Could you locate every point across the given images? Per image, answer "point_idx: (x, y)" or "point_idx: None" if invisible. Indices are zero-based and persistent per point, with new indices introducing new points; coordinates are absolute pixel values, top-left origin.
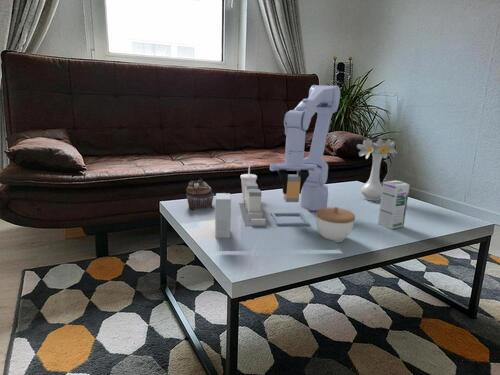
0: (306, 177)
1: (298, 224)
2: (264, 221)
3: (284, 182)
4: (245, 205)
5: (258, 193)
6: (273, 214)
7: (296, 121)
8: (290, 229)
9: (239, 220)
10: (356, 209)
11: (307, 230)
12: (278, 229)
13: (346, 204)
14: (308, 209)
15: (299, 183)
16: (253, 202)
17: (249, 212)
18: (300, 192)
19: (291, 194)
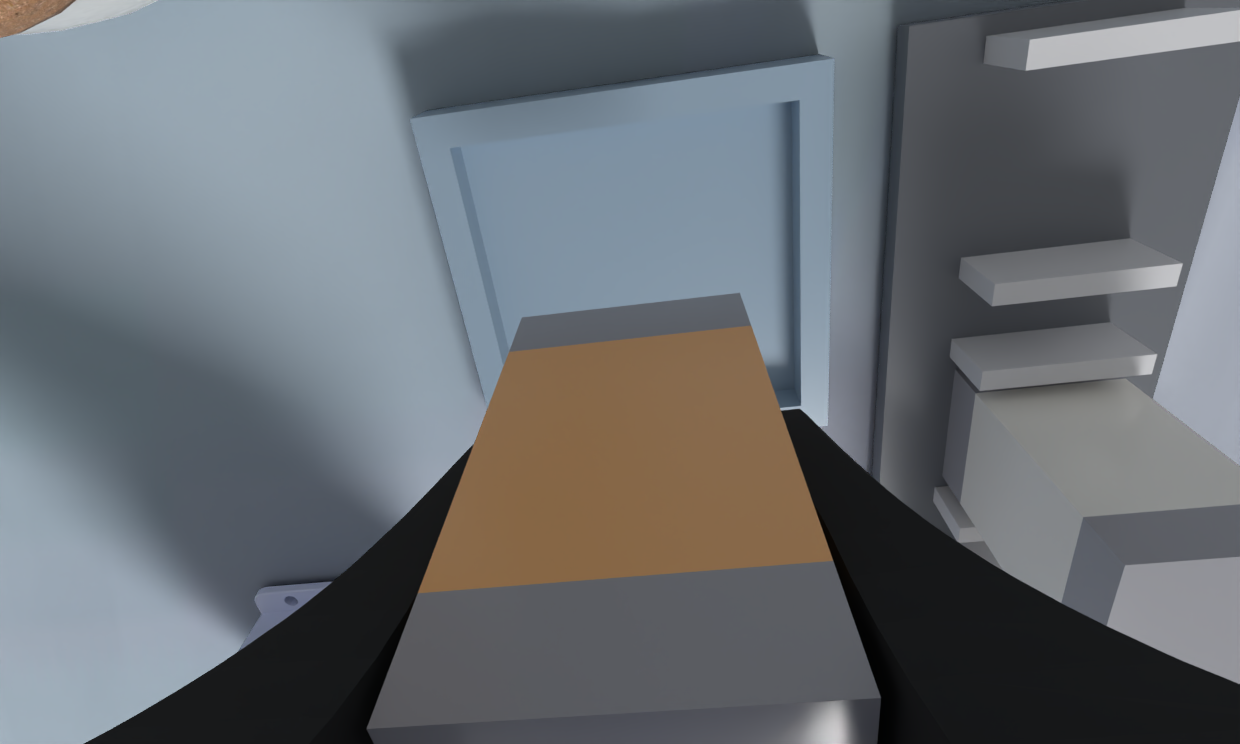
0: (142, 731)
1: (549, 96)
2: (1027, 34)
3: (917, 551)
4: None
5: (1163, 547)
6: (816, 371)
7: None
8: (653, 30)
9: (1207, 259)
10: (12, 638)
11: (446, 22)
12: (805, 9)
13: (114, 724)
14: None
15: (453, 553)
16: (1142, 449)
17: (1127, 345)
18: (467, 450)
19: (660, 366)
